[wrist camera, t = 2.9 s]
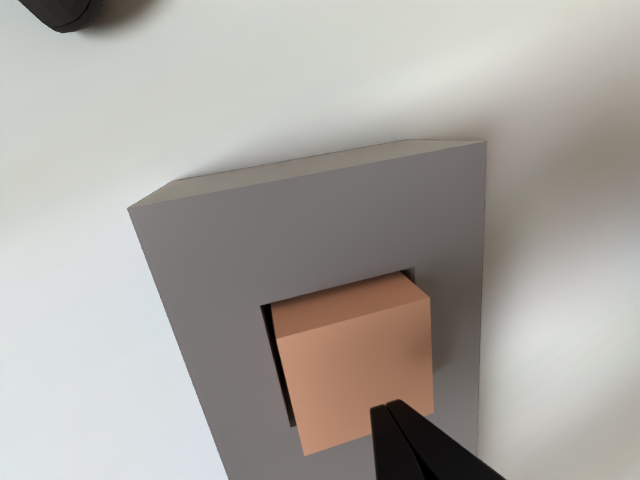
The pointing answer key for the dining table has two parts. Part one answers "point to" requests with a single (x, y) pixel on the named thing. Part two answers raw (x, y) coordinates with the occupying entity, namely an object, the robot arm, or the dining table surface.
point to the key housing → (316, 283)
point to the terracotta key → (354, 355)
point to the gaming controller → (64, 13)
